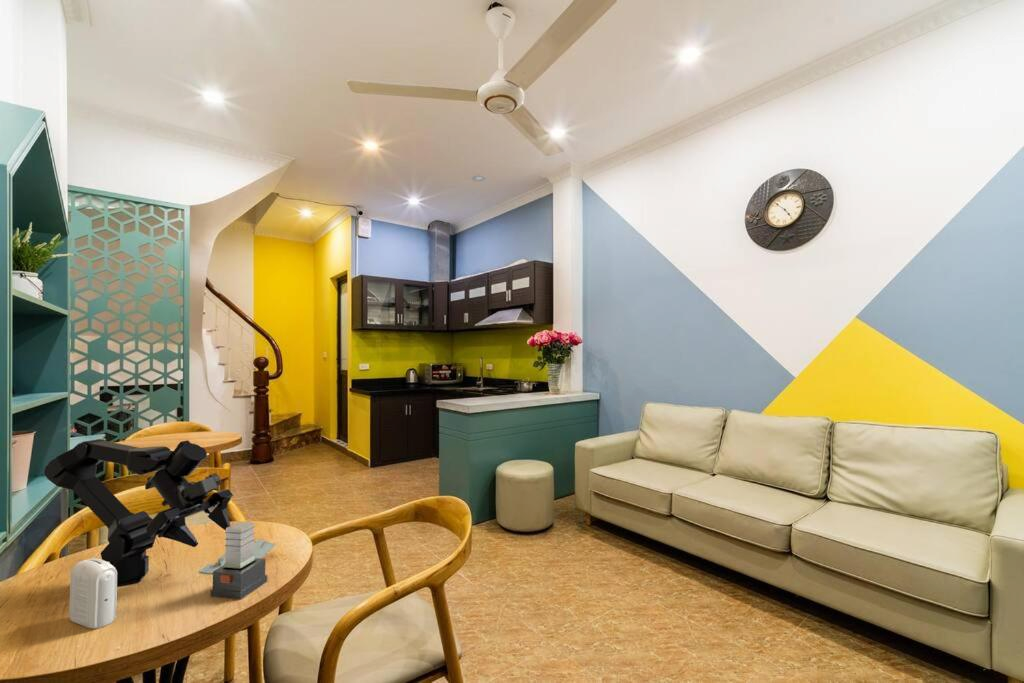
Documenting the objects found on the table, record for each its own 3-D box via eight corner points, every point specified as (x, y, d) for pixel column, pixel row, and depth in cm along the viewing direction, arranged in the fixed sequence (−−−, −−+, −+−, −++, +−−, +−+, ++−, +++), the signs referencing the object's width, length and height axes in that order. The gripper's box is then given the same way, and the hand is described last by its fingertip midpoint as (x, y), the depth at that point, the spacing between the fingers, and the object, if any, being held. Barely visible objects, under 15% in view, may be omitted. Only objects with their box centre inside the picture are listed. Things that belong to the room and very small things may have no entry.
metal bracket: (238, 532, 123) (283, 536, 119) (243, 550, 124) (288, 554, 120) (192, 570, 109) (241, 575, 106) (198, 589, 110) (247, 595, 107)
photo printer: (119, 619, 90) (121, 559, 91) (93, 632, 86) (95, 568, 87) (91, 610, 94) (92, 552, 95) (65, 621, 90) (66, 560, 91)
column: (224, 567, 100) (224, 528, 101) (239, 559, 105) (239, 521, 105) (240, 569, 100) (240, 529, 100) (254, 560, 104) (255, 522, 104)
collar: (209, 597, 99) (209, 572, 99) (238, 579, 107) (238, 556, 107) (240, 599, 97) (240, 574, 97) (267, 581, 105) (267, 558, 105)
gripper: (158, 476, 96) (199, 529, 94) (227, 457, 115) (263, 501, 112) (128, 510, 97) (168, 564, 95) (201, 486, 116) (236, 531, 113)
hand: (213, 537), depth 104 cm, fingers open, 9 cm apart
